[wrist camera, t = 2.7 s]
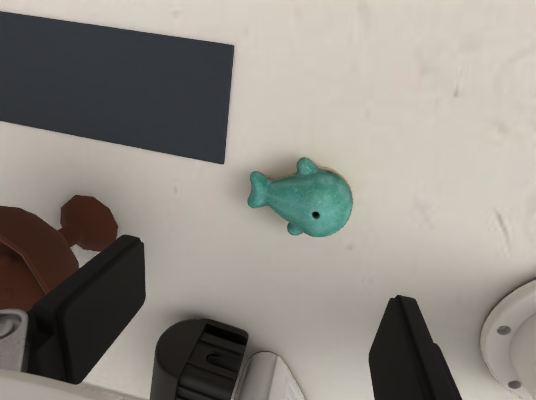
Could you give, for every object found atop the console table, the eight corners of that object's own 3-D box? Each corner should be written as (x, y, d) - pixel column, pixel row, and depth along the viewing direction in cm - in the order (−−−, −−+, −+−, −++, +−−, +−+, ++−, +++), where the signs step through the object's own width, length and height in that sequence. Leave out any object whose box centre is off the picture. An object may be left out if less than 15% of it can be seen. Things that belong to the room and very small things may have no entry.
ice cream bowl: (153, 191, 25) (-66, 328, 11) (134, 291, 29) (-38, 476, 16) (38, 144, 25) (-309, 220, 11) (37, 249, 30) (-214, 394, 16)
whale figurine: (340, 236, 23) (342, 263, 20) (248, 216, 24) (234, 239, 20) (359, 163, 21) (366, 179, 17) (257, 144, 22) (243, 156, 18)
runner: (234, 45, 20) (232, 45, 19) (224, 163, 23) (222, 164, 22) (-28, 7, 22) (-33, 6, 22) (-5, 118, 25) (-9, 119, 25)
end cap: (180, 304, 29) (139, 366, 23) (251, 328, 28) (228, 398, 22) (170, 373, 33) (133, 441, 27) (231, 395, 32) (208, 470, 26)
